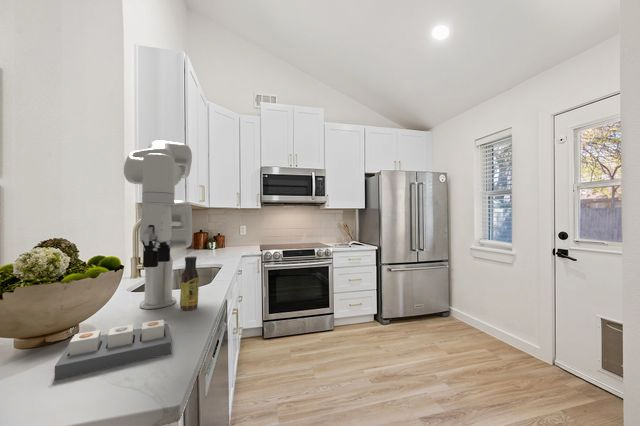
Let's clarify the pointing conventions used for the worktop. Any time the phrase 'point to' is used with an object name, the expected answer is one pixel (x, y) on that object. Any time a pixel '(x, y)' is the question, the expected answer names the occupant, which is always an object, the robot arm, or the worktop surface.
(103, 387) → the worktop surface
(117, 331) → the plain key
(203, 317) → the worktop surface
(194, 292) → the sauce bottle
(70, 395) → the worktop surface
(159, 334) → the dot key
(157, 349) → the slotted grey tray
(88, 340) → the dot key
